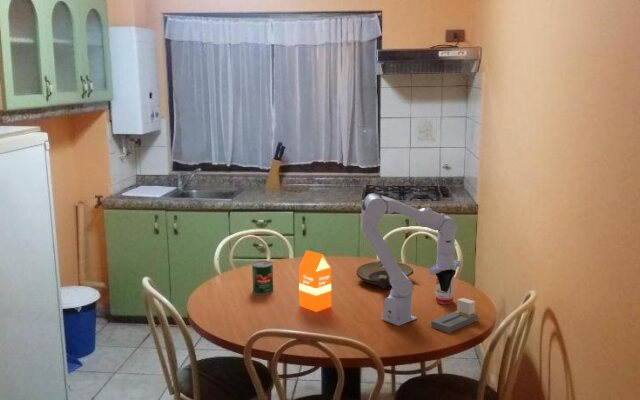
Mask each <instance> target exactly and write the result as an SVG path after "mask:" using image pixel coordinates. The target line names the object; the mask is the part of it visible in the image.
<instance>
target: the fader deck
mask: <svg viewBox="0 0 640 400" xmlns="http://www.w3.org/2000/svg"><path fill="white" fill-rule="evenodd" d="M478 319H479V315H478V314H477V313H476V312H475V313H473V314H470V315H468V314H465V313H462V312H459V311H457V310H455V311H453V312H450V313H448V314H445V315H443V316H440V317H438V318H436V319H432V320H431V322H430V325H431V326H430V327H431V328H433V329H436V330H439V331H441V332H444V333H447V334H450V333H452V332H454V331H456V330H460V329H461V328H463V327H465V326H468V325H469V324H473V323H475V322H476V321H478Z"/></svg>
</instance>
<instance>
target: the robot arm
mask: <svg viewBox="0 0 640 400" xmlns="http://www.w3.org/2000/svg"><path fill="white" fill-rule="evenodd" d="M360 208H361V215H360V217H361V219H360V229H361V230H362V232H363V233H364V235H365V237H366V238H367V240H368V242H369V244H370V246H371V247H372V249H373V250H374V252H375V254H376V256H377V258H378V260H379V261H381V263H382V265H383V266H382V267H384V268H385V270H386V272H387V273H388V275H389V281H390V284H391V285H390V286H391V290H390V292H389V295H388V297H386V298H385V299H384V300H383V303H382V304H383V305H382V307H383V308H382V309H383V311H382V312H383V313H382V317H381V318H380V319H381V320H382V321H385V322H387V323H389V324H393V325H395V326H397V327H398V326H399V327H400V326H402V325H405V324H407V323H410V322H412V321H414V320H417V318H418V317H417V316H414V315H412V294H413V291H414V285H413V282H412V280H411V279H410V278H409V276H408V277H407V275H406V274H405V273H404V272H403V271H401V269H400V267H399V266H398V264H397V261H396V258H395V257H394V255H393V253H392V252H391V250H390V248H389V246H388V245H387V243H386V241H385V240H384V238H383V236H382V234H381V232H380V231H379V229H378V225H379V224H380V223H379V222H380V221H381V219H382V218H383V217H384V216H385V214H387V215H390V214H392V213H397V214H400V215H404V216H406V217H409V218H413V219H414V220H415V221H416V224H418V225H420V226H423V227H425V228H427V229H431V230H434V231H437V238H436V239H437V240H436V241H437V242H436V243H437V244H436V245H437V247H436V264H434V265H433V266H432V267H430V268H429V271H428V273H429V275H433V276H435V277H436V276H437V278H438V280H439V284H440V288H441V291H444V292H447V291H448V290H449V286H450V283H451V280H452V278H453V276H455V275H456V274H457V273H456V272H457V271H456V269H457V267H461V260H458V259H455V247H456V245H455V244H456V240H455V239H456V237H455V236H456V233H457V232H458V230H459V226H458V224H457V222H456V221H455V220H454V219H453V218H452V217H450V216H449V215H447V214H445V213H443V212H441V213H439V212H436V211H435V210H433V208H431V207H429V206H428V207H423V208H420V209H418V208H415V207H413V206H411V205H408V204H406V203H404V202H401V201H400V200H399V201H398V200H396V199H394V198H391V197H389V196H384V195H379V194H377V193H370V194H367V195H366V196H365V197H364V199H363V202H362V203H361V206H360ZM452 269H454V270H452ZM408 278H409V279H408Z"/></svg>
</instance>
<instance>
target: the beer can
mask: <svg viewBox="0 0 640 400" xmlns="http://www.w3.org/2000/svg"><path fill="white" fill-rule="evenodd" d="M452 270H455V269H452ZM454 276H455V275H454ZM454 276H453V278H452V280H451V283H450V286H449V290H448V291H447V292H444V291H441V288H440V284H439V280H438V278H437V276H436V275H435V301H436V302H437V303H438V304H441V305H450V304H451V303H452V302H453V301H454V278H455V277H454Z"/></svg>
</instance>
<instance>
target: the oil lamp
mask: <svg viewBox="0 0 640 400" xmlns="http://www.w3.org/2000/svg"><path fill="white" fill-rule="evenodd" d="M396 262H397V261H396ZM397 264H398V266H399V267H400V269H401V271H403V272H404V273H405V274H406V275H407V277H408V279H409V280H410V278H409V277H410V276H411V275H414V269H413V268H412V267H410V265H408V264H405V263H400V262H397ZM356 276H357V278H359V279H360V280H362V281H364V282H367V283H369V284H373V285H374V286H380V287H381V288H382V289H386V288H387V287H388V286H391V284H390V281H389V275H388V273H387V272H386V270H385V268H384V266H383V265H382V263H381V261H380V260H379V261H374V262H368V263H364V264H362V265H361V266H359V267H358V268H357V269H356Z"/></svg>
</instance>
